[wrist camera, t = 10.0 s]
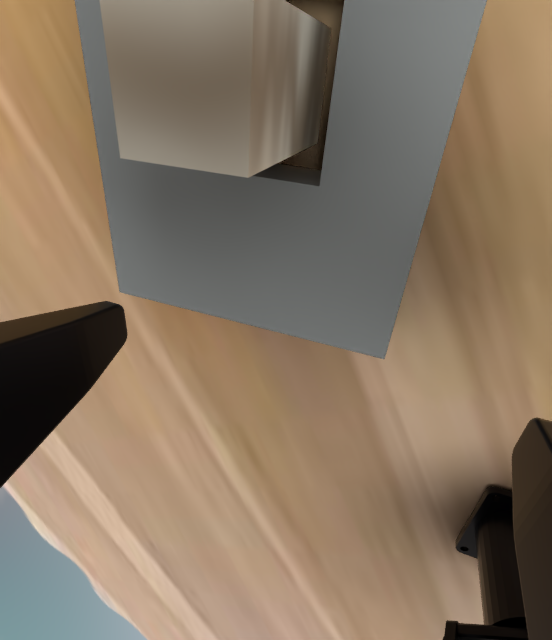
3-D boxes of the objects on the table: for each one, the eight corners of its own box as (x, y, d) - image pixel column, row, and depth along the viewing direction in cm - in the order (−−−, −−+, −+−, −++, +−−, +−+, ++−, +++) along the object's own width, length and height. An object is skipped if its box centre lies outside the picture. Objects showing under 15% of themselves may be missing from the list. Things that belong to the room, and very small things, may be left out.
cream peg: (317, 142, 17) (248, 177, 10) (232, 132, 18) (120, 158, 11) (331, 28, 15) (254, -18, 8) (234, 23, 16) (96, -23, 9)
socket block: (389, 326, 20) (384, 359, 18) (152, 270, 23) (119, 292, 21) (583, -369, 9) (637, -529, 7) (95, -293, 13) (15, -384, 10)
